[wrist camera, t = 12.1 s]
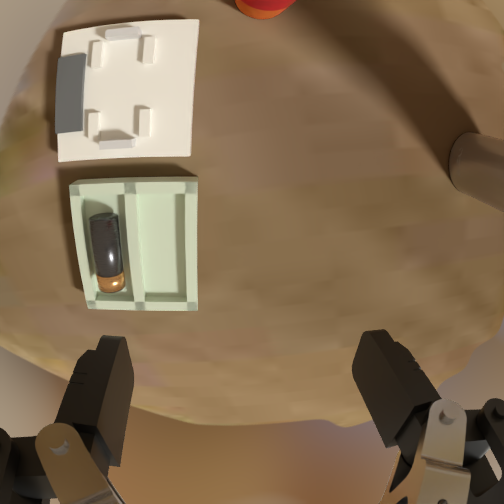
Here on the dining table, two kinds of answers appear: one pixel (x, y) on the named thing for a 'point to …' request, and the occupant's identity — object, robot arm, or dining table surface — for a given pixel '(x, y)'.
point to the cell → (107, 252)
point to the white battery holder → (126, 90)
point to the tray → (142, 240)
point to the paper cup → (263, 7)
